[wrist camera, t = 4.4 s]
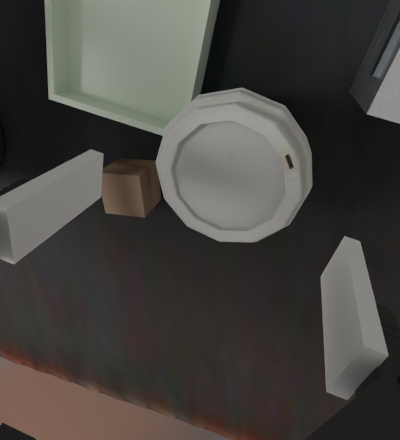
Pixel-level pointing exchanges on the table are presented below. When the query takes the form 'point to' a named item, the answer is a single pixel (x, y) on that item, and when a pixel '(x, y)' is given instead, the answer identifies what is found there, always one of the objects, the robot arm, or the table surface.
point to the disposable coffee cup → (235, 165)
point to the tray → (128, 56)
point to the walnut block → (130, 187)
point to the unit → (381, 69)
